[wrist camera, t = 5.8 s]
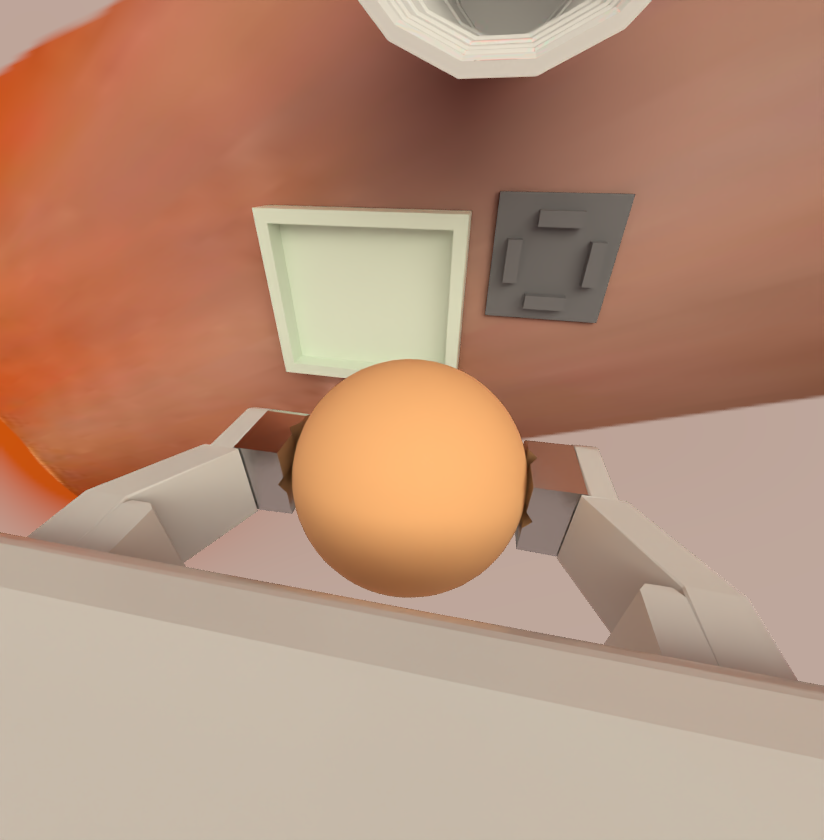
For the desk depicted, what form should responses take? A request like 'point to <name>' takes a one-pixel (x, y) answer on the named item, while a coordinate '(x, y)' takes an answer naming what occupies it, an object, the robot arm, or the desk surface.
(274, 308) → the tray
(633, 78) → the desk surface
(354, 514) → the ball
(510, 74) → the plastic cup
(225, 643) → the robot arm
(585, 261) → the coaster
